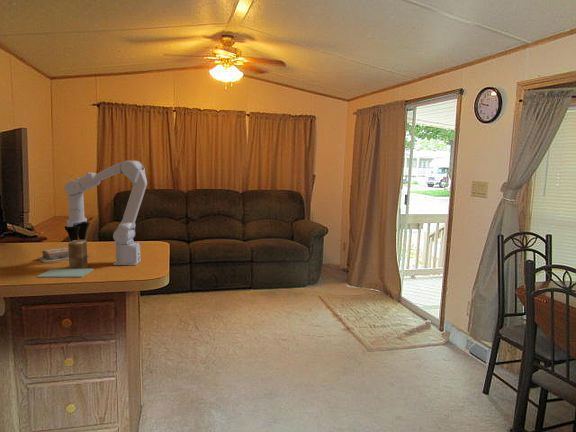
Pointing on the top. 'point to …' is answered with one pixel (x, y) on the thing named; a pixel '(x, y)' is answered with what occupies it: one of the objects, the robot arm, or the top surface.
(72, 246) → the walnut block
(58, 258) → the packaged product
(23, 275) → the top surface
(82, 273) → the mat
